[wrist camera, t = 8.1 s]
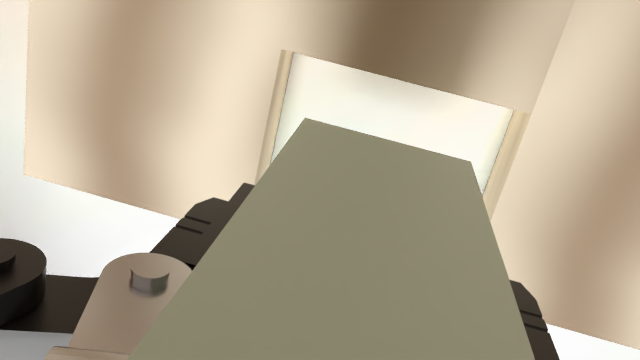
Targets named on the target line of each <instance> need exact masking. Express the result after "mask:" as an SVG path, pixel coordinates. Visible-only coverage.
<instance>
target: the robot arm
mask: <svg viewBox="0 0 640 360" xmlns="http://www.w3.org/2000/svg"><path fill="white" fill-rule="evenodd" d="M254 186H255V185H252V184H248V183H245V182H244V183H243V184H242V185H241V186H240V188H239V189H238V190H237V191H236V193H235V194H234V195H233V196H232V198H231V199H230V200H229V201H226V200H222V199H218V198H215V197H213V198H210V199H207V200H205V201H202V202H199V203H197V204H195V205H194V206H193V207H192V208H191V209H190V210H189V211H188V212H187V213H186V214H185V216H184V218H182V219H181V220H180V221H179V222H178V223H177V224H176V227H173V228H172V229H171V230H170V231H169V233H168V234H167V235H166V236H165V237H164V238H163V239H162V240H161V241H160V242H159V243H158V244H157V245H156V246H155V247H154V248H153V250H152V251H151V252H150V253H134V254H129V255H125V256H122V257H119V258H117V259H114V260H113V261H111V262H110V263H109V264H107V265H106V266H105V268H104V269H103V271H102V273H101V275H100V277H96V278H85V277H71V276H58V275H46V257H45V255H44V253H43V252H42V251H41V250H40V249H39V248H37V247H36V246H34V245H32V244H29V243H26V242H23V241H19V240H14V239H4V238H0V360H127V359H128V357H129V356H130V355H131V353H132V352H133V351H134V349H135V348H136V347H137V345H138V344H139V342H140V341H141V340H142V338H143V337H144V336H145V334H146V333H147V332H148V330H149V329H150V328H151V326H152V325H153V323H154V322H155V321H156V319H157V318H158V317H159V315H160V314H161V313H162V311H163V310H164V309H165V307H166V306H167V304H168V303H169V302H170V300H171V299H172V298H173V296H174V295H175V294H176V292H177V291H178V290H179V288H180V287H181V285H182V284H183V283H184V281H185V280H186V279H187V277H188V276H189V275H190V273H191V272H192V271H193V269H194V268H195V266H196V265H197V264H198V262H199V261H200V260H201V258H202V257H203V256H204V254H205V253H206V252H207V250H208V249H209V248H210V246H211V245H212V243H213V242H214V241H215V239H216V238H217V237H218V235H219V234H220V233H221V231H222V230H223V229H224V227H225V226H226V224H227V223H228V222H229V220H230V219H231V218H232V216H233V215H234V214H235V212H236V211H237V210H238V208H239V207H240V205H241V204H242V203H243V201H244V200H245V199H246V197H247V196H248V195H249V193H250V192H251V191H252V189H253V188H254ZM504 266H505V265H504ZM505 269H506V268H505ZM506 272H507V271H506ZM507 275H508V274H507ZM508 278H509V277H508ZM509 281H510V284H511V287H512V290H513V293H514V296H515V299H516V302H517V306H518V309H519V312H520V315H521V318H522V321H523V324H524V327H525V330H526V333H527V336H528V339H529V342H530V346H531V349H532V352H533V355H534V358H535V360H559V357H558V354H557V352H556V349H555V347H554V344H553V342H552V339H551V336H550V334H549V333H547V331H548V329H547V326H546V323H545V321H544V319H542V313H541V311H540V308H539V305H538V303H537V300H536V299H535V298H534V297H533V296H532V294H531V293H530V292H529V291H528V290H527V289H526V288H525V287H524V286H523V285H522V284H521V283H520V282H516V281H513V280H509Z"/></svg>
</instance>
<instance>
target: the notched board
mask: <svg viewBox="0 0 640 360" xmlns="http://www.w3.org/2000/svg"><path fill="white" fill-rule="evenodd" d="M293 52H294V53H298V54H302V55H306V56H310V57H313V58H317V59H321V60H325V61H329V62H333V63H337V64H340V65H344V66H348V67H352V68H356V69H360V70H363V71H367V72H371V73H375V74H379V75H383V76H387V77H390V78H394V79H398V80H402V81H406V82H410V83H413V84H417V85H421V86H425V87H429V88H433V89H437V90H440V91H444V92H448V93H452V94H456V95H460V96H464V97H467V98H471V99H475V100H479V101H483V102H487V103H490V104H494V105H498V106H502V107H506V108H510V109H514V112H513V115H512V118H511V120H510V123H509V126H508V129H507V131H506V134H505V137H504V139H503V142H502V145H501V147H500V150H499V153H498V156H497V158H496V161H495V164H494V166H493V169H492V172H491V174H490V177H489V180H488V183H487V185H486V188H485V191H484V193H483V196H482V198H483V201H484V204H485V207H486V210H487V213H488V216H489V219H490V222H491V226H492V229H493V232H494V235H495V238H496V241H497V244H498V247H499V250H500V253H501V256H502V259H503V262H504V265H505V268H506V271H507V274H508V277H509V280H513V281H516V282H520V283H521V284H522V285H523V286H524V287H525V288H526V289H527V290H528V291H529V292H530V293H531V294H532V296H533V297H534V298H535V299H536V300H537V303H538V305H539V308H540V311H541V313H542V319H544V321H545V323H547V324H551V325H554V326H558V327H561V328H565V329H568V330H572V331H575V332H579V333H582V334H586V335H589V336H593V337H597V338H600V339H604V340H607V341H611V342H614V343H618V344H621V345H625V346H628V347H632V348H635V349H639V350H640V0H29V15H28V48H27V80H26V113H25V146H24V175H27V176H31V177H34V178H38V179H41V180H45V181H48V182H52V183H55V184H59V185H62V186H66V187H69V188H73V189H76V190H80V191H83V192H87V193H90V194H94V195H97V196H101V197H104V198H108V199H111V200H115V201H118V202H122V203H125V204H129V205H133V206H136V207H140V208H143V209H147V210H150V211H154V212H157V213H161V214H164V215H168V216H171V217H175V218H178V219H182V218H184V216H185V214H186V213H187V212H188V211H189V210H190V209H191V208H192V207H193V206H194V205H195V204H197V203H199V202H202V201H205V200H207V199H210V198H213V197H215V198H218V199H222V200H226V201H229V200H230V199H231V198H232V196H233V195H234V194H235V193H236V191H237V190H238V189H239V188H240V186H241V185H242V184H243V183H244V182H245V183H248V184H252V185H256V184H257V182H258V181H259V180H260V178H261V177H262V176H263V174H264V173H265V172H266V170H267V169H268V167H269V166H270V162H271V157H272V152H273V148H274V143H275V138H276V133H277V128H278V124H279V119H280V114H281V109H282V104H283V100H284V95H285V90H286V85H287V80H288V76H289V71H290V66H291V61H292V56H293Z"/></svg>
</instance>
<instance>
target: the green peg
mask: <svg viewBox="0 0 640 360" xmlns="http://www.w3.org/2000/svg"><path fill="white" fill-rule="evenodd" d="M127 360H535V358H534V355H533V352H532V349H531V346H530V342H529V339H528V336H527V333H526V330H525V327H524V324H523V321H522V318H521V315H520V312H519V309H518V306H517V302H516V299H515V296H514V293H513V290H512V287H511V284H510V281H509V278H508V275H507V272H506V269H505V266H504V262H503V259H502V256H501V253H500V250H499V247H498V244H497V241H496V238H495V235H494V232H493V229H492V226H491V222H490V219H489V216H488V213H487V210H486V207H485V204H484V201H483V198H482V195H481V192H480V189H479V186H478V182H477V179H476V176H475V173H474V170H473V167H472V164H471V162H470V161H466V160H462V159H458V158H455V157H451V156H447V155H443V154H440V153H436V152H432V151H428V150H424V149H421V148H417V147H413V146H409V145H406V144H402V143H398V142H394V141H391V140H387V139H383V138H379V137H375V136H372V135H368V134H364V133H360V132H357V131H353V130H349V129H345V128H341V127H338V126H334V125H330V124H326V123H323V122H319V121H315V120H311V119H307V118H305V119H304V120H303V121H302V123H301V124H300V125H299V127H298V128H297V129H296V131H295V132H294V134H293V135H292V136H291V138H290V139H289V140H288V142H287V143H286V144H285V146H284V147H283V148H282V150H281V151H280V153H279V154H278V155H277V157H276V158H275V159H274V161H273V162H272V163H271V165H270V166H269V167H268V169H267V170H266V172H265V173H264V174H263V176H262V177H261V178H260V180H259V181H258V182H257V184H256V185H255V186H254V188H253V189H252V191H251V192H250V193H249V195H248V196H247V197H246V199H245V200H244V201H243V203H242V204H241V205H240V207H239V208H238V210H237V211H236V212H235V214H234V215H233V216H232V218H231V219H230V220H229V222H228V223H227V224H226V226H225V227H224V229H223V230H222V231H221V233H220V234H219V235H218V237H217V238H216V239H215V241H214V242H213V243H212V245H211V246H210V248H209V249H208V250H207V252H206V253H205V254H204V256H203V257H202V258H201V260H200V261H199V262H198V264H197V265H196V266H195V268H194V269H193V271H192V272H191V273H190V275H189V276H188V277H187V279H186V280H185V281H184V283H183V284H182V285H181V287H180V288H179V290H178V291H177V292H176V294H175V295H174V296H173V298H172V299H171V300H170V302H169V303H168V304H167V306H166V307H165V309H164V310H163V311H162V313H161V314H160V315H159V317H158V318H157V319H156V321H155V322H154V323H153V325H152V326H151V328H150V329H149V330H148V332H147V333H146V334H145V336H144V337H143V338H142V340H141V341H140V342H139V344H138V345H137V347H136V348H135V349H134V351H133V352H132V353H131V355H130V356H129V357H128V359H127Z"/></svg>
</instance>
